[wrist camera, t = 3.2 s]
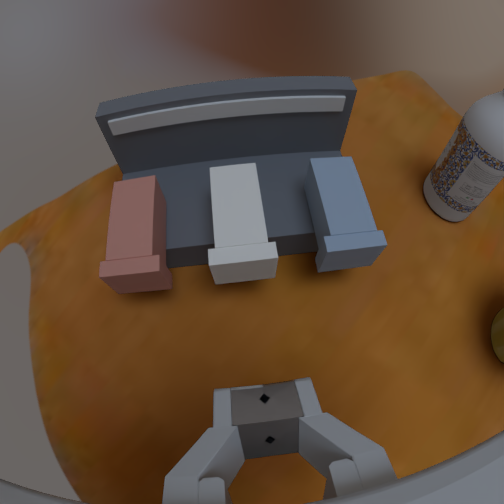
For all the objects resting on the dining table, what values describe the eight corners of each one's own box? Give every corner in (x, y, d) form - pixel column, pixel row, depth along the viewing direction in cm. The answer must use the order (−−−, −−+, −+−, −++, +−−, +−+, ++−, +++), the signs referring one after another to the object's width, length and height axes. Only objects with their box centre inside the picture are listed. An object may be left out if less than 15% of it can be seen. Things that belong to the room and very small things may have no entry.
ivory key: (274, 278, 25) (278, 257, 21) (215, 284, 25) (208, 264, 21) (261, 191, 29) (261, 162, 25) (209, 196, 28) (203, 168, 25)
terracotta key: (172, 289, 25) (159, 270, 21) (119, 294, 25) (98, 276, 21) (171, 201, 28) (161, 174, 25) (124, 208, 28) (108, 183, 24)
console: (354, 247, 31) (397, 170, 20) (130, 272, 30) (73, 206, 19) (328, 160, 35) (349, 76, 25) (136, 181, 35) (99, 103, 24)
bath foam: (434, 166, 36) (502, 42, 17) (474, 200, 33) (558, 88, 15) (412, 196, 34) (493, 56, 15) (457, 234, 31) (561, 114, 13)
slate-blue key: (370, 265, 25) (387, 244, 22) (317, 272, 25) (327, 251, 22) (346, 184, 29) (356, 156, 25) (298, 187, 29) (303, 158, 25)
